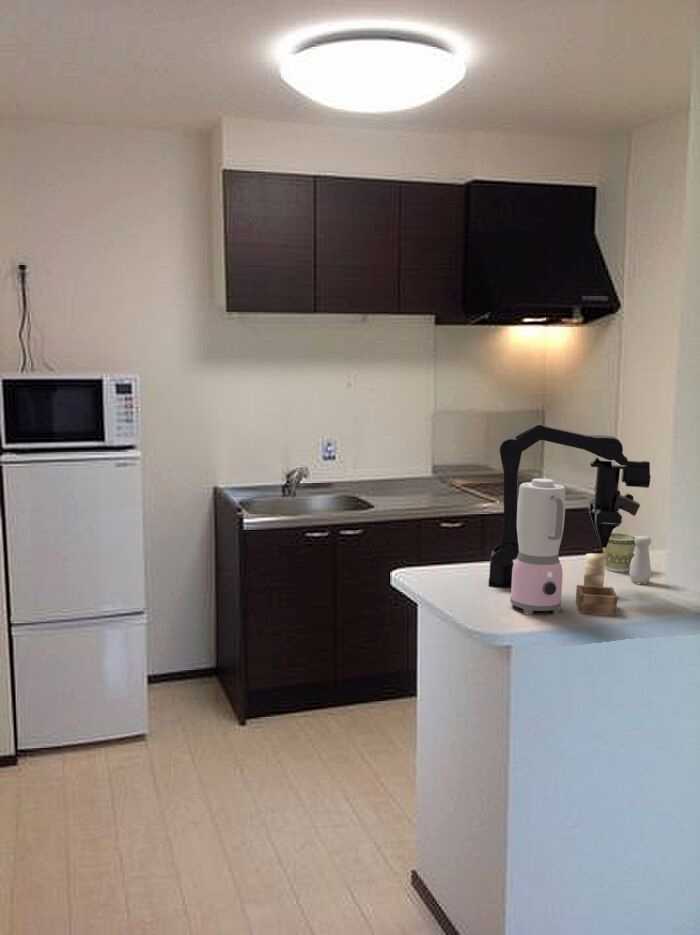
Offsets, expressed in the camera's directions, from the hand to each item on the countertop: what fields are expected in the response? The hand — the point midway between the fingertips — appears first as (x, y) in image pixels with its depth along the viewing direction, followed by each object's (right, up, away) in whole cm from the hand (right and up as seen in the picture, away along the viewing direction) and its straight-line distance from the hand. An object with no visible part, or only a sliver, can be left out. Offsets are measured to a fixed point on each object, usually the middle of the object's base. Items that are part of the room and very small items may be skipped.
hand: (601, 543), depth 232 cm
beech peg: (-2, -13, +1) cm, 13 cm away
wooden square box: (-5, -15, -13) cm, 21 cm away
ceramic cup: (+13, -10, +26) cm, 31 cm away
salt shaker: (+14, -12, +13) cm, 23 cm away
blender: (-20, -15, -15) cm, 29 cm away
